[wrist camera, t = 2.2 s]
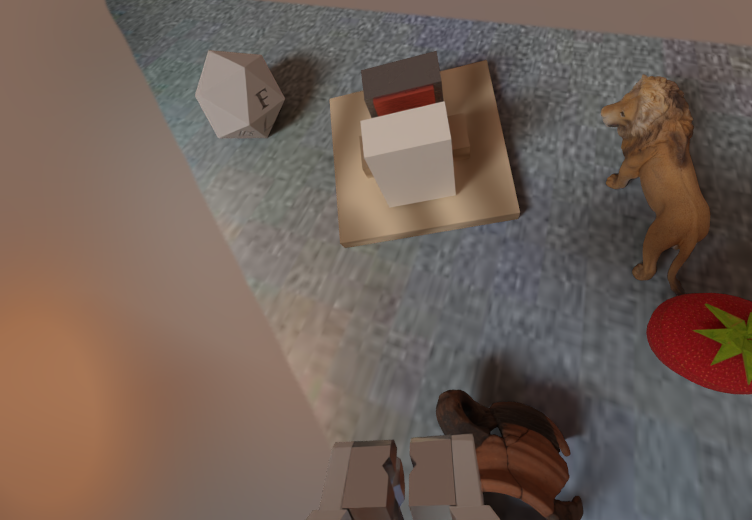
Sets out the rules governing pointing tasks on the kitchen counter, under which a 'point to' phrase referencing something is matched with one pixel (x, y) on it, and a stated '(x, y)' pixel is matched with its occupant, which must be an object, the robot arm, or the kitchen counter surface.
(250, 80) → the die
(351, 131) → the tan square base board
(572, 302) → the kitchen counter surface
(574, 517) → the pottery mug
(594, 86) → the kitchen counter surface
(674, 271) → the lion figurine
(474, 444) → the robot arm
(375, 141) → the white rectangular block
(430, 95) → the block
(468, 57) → the kitchen counter surface
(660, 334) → the strawberry
